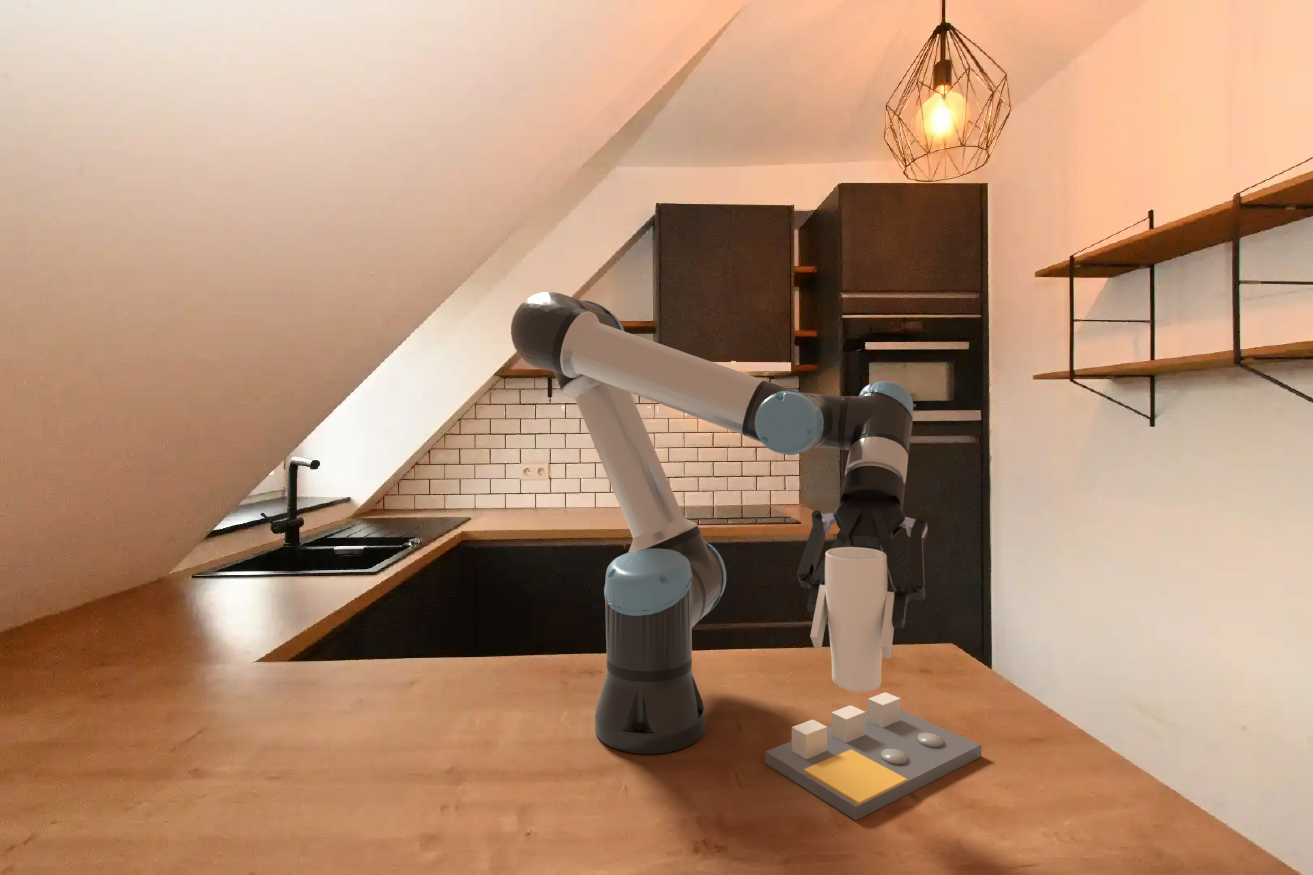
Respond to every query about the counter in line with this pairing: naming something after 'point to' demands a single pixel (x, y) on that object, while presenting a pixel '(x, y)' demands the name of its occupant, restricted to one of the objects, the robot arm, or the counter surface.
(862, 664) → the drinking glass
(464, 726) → the counter surface
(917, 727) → the game board
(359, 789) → the counter surface
